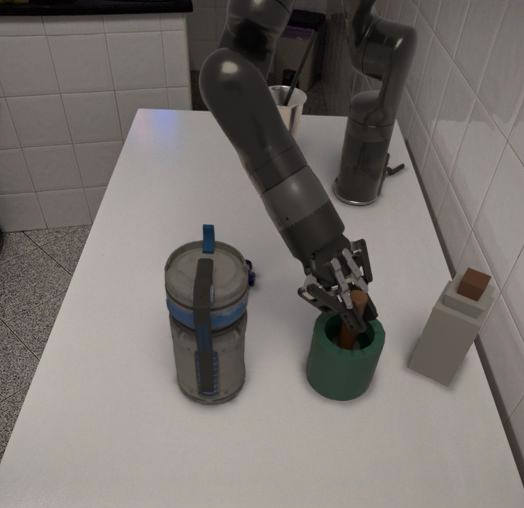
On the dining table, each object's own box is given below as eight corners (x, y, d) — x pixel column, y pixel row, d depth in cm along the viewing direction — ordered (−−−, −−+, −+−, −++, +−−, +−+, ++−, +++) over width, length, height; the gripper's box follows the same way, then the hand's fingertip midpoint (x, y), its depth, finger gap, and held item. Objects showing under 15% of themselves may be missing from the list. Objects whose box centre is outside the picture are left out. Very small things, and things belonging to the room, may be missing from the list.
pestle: (340, 356, 80) (361, 280, 68) (358, 375, 78) (382, 300, 66) (318, 367, 79) (335, 291, 67) (335, 387, 76) (356, 312, 64)
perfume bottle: (448, 386, 79) (494, 303, 65) (407, 367, 81) (443, 282, 67) (461, 358, 82) (508, 274, 69) (422, 340, 84) (459, 255, 71)
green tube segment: (343, 341, 84) (355, 297, 76) (383, 383, 78) (400, 341, 71) (293, 365, 80) (300, 321, 72) (331, 411, 75) (343, 369, 67)
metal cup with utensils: (300, 180, 114) (318, 30, 91) (251, 172, 115) (256, 22, 92) (307, 156, 121) (325, 11, 98) (261, 149, 122) (268, 4, 99)
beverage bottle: (172, 421, 72) (151, 293, 53) (181, 350, 81) (166, 217, 62) (243, 423, 72) (248, 296, 53) (246, 352, 81) (250, 221, 62)
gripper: (288, 228, 57) (360, 352, 62) (352, 178, 65) (413, 292, 69) (250, 246, 63) (318, 358, 68) (313, 199, 71) (371, 303, 75)
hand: (366, 324), depth 69 cm, fingers closed on pestle, 2 cm apart
